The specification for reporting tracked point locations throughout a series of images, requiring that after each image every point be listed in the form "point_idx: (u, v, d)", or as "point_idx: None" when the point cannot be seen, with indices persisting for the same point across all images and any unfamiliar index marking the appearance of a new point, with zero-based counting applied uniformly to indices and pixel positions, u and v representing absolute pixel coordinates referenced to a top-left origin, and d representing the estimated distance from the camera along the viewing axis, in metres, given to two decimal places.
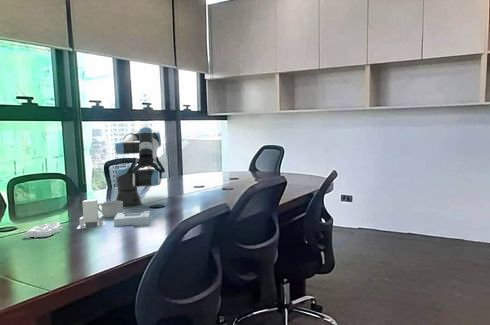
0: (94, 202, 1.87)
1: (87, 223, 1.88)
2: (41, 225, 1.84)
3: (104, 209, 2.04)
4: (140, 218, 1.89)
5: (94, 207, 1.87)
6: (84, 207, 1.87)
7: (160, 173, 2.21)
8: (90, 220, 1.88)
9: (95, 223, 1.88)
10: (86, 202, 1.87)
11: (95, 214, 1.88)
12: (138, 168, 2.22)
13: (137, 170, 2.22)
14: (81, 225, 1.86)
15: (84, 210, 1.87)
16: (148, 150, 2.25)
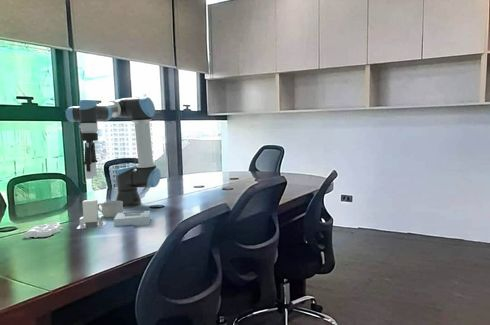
0: (94, 202, 1.87)
1: (87, 223, 1.88)
2: (41, 225, 1.84)
3: (104, 209, 2.04)
4: (140, 218, 1.89)
5: (94, 207, 1.87)
6: (84, 207, 1.87)
7: (86, 166, 1.80)
8: (90, 220, 1.88)
9: (95, 223, 1.88)
10: (86, 202, 1.87)
11: (95, 214, 1.88)
12: (92, 155, 1.92)
13: (94, 156, 1.93)
14: (81, 225, 1.86)
15: (84, 210, 1.87)
16: (81, 136, 1.85)
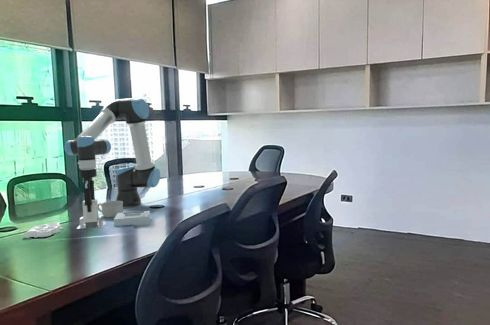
0: (94, 202, 1.87)
1: (87, 223, 1.88)
2: (41, 225, 1.84)
3: (104, 209, 2.04)
4: (140, 218, 1.89)
5: (94, 207, 1.87)
6: (84, 207, 1.87)
7: None
8: (90, 220, 1.88)
9: (95, 223, 1.88)
10: None
11: (95, 214, 1.88)
12: (90, 192, 1.90)
13: (92, 194, 1.91)
14: (81, 225, 1.86)
15: (84, 210, 1.87)
16: (79, 172, 1.85)
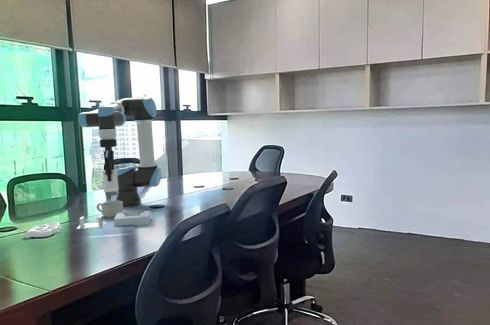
0: (114, 172, 1.89)
1: (107, 193, 1.90)
2: (41, 225, 1.84)
3: (104, 209, 2.04)
4: (140, 218, 1.89)
5: (114, 177, 1.89)
6: (104, 176, 1.88)
7: (107, 176, 1.87)
8: (110, 190, 1.89)
9: (115, 192, 1.90)
10: None
11: (115, 184, 1.89)
12: None
13: (112, 164, 1.92)
14: (81, 225, 1.86)
15: (104, 179, 1.88)
16: (100, 142, 1.87)
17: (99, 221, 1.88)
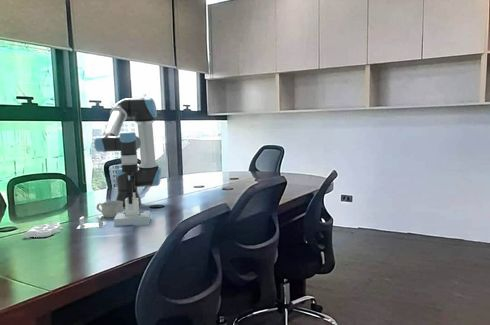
0: (136, 200, 1.93)
1: None
2: (41, 225, 1.84)
3: (104, 209, 2.04)
4: (140, 218, 1.89)
5: (136, 205, 1.93)
6: (126, 205, 1.92)
7: (128, 198, 1.87)
8: None
9: None
10: None
11: (137, 212, 1.93)
12: (132, 185, 1.98)
13: (133, 186, 1.98)
14: (81, 225, 1.86)
15: (126, 208, 1.92)
16: (122, 167, 1.91)
17: (99, 221, 1.88)
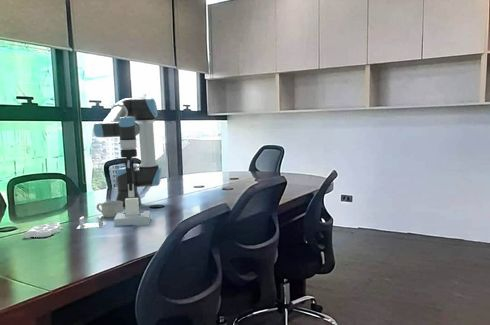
0: (136, 200, 1.93)
1: None
2: (41, 225, 1.84)
3: (104, 209, 2.04)
4: (140, 218, 1.89)
5: (136, 205, 1.93)
6: (126, 205, 1.92)
7: (129, 185, 1.92)
8: None
9: None
10: (128, 200, 1.92)
11: (137, 212, 1.93)
12: None
13: (132, 174, 1.94)
14: (81, 225, 1.86)
15: (126, 208, 1.92)
16: (121, 152, 1.90)
17: (99, 221, 1.88)
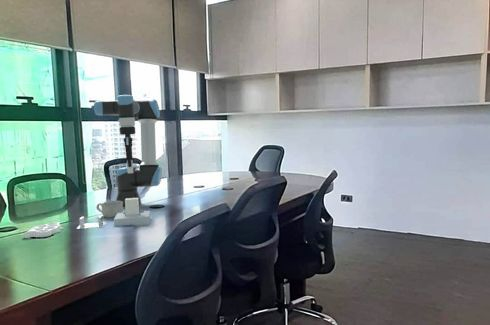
0: (136, 200, 1.93)
1: None
2: (41, 225, 1.84)
3: (104, 209, 2.04)
4: (140, 218, 1.89)
5: (136, 205, 1.93)
6: (126, 205, 1.92)
7: (128, 162, 1.99)
8: None
9: None
10: (128, 200, 1.92)
11: (137, 212, 1.93)
12: None
13: (131, 151, 2.00)
14: (81, 225, 1.86)
15: (126, 208, 1.92)
16: (120, 129, 1.96)
17: (99, 221, 1.88)
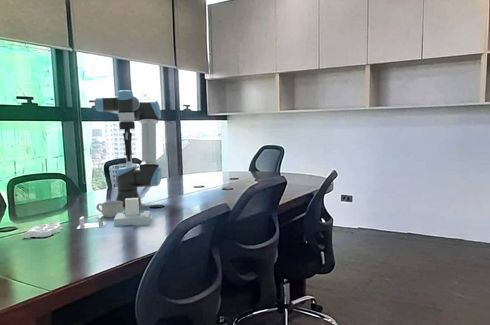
0: (136, 200, 1.93)
1: None
2: (41, 225, 1.84)
3: (104, 209, 2.04)
4: (140, 218, 1.89)
5: (136, 205, 1.93)
6: (126, 205, 1.92)
7: (127, 157, 2.01)
8: None
9: None
10: (128, 200, 1.92)
11: (137, 212, 1.93)
12: None
13: None
14: (81, 225, 1.86)
15: (126, 208, 1.92)
16: (119, 124, 1.98)
17: (99, 221, 1.88)
